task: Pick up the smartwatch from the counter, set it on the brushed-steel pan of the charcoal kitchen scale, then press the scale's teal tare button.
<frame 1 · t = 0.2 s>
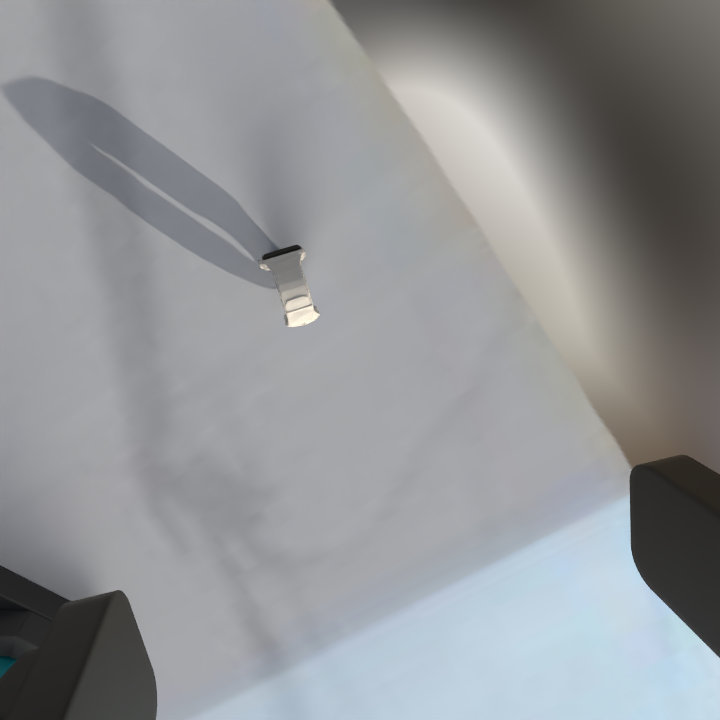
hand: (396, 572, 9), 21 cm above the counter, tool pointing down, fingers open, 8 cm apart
smartwatch: (288, 278, 28), on the counter
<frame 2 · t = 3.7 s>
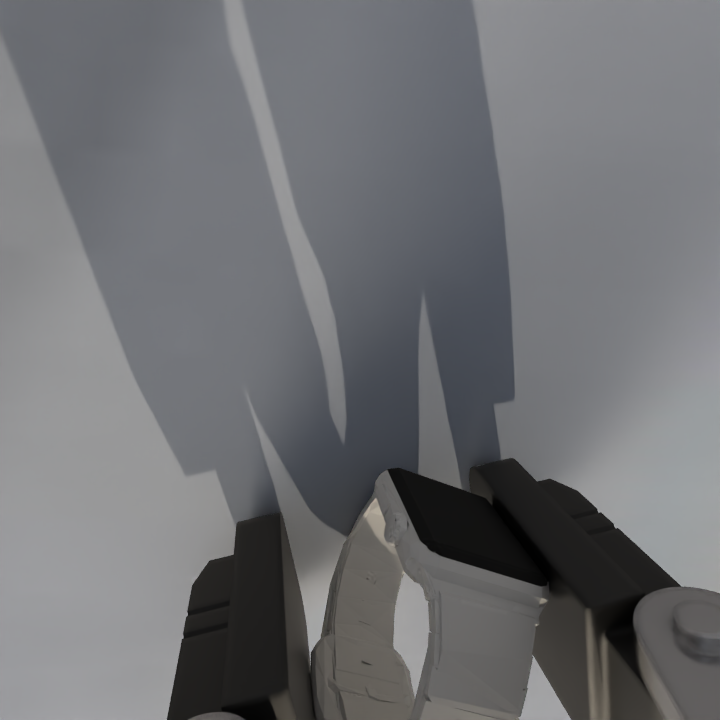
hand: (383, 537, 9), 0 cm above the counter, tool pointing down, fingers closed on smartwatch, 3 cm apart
smartwatch: (379, 525, 10), on the counter, touching gripper
when the fingers open (4 cm above the counter, at t = 10.9 s): smartwatch stays where it is, resting on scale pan.
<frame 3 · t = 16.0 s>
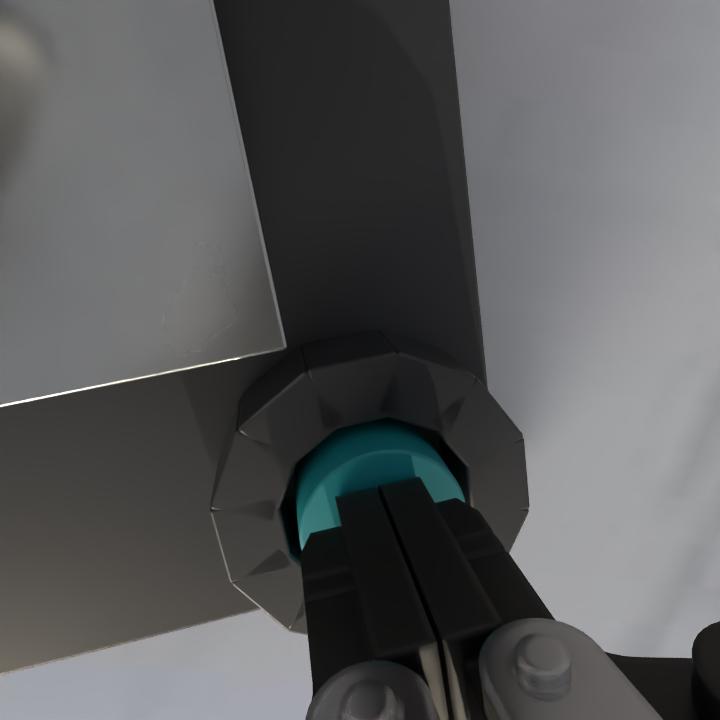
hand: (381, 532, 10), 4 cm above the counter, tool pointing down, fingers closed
tare button: (376, 503, 10), point 3 cm above the counter, slide at -0.6 cm, touching gripper
scale: (150, 257, 12), on the counter
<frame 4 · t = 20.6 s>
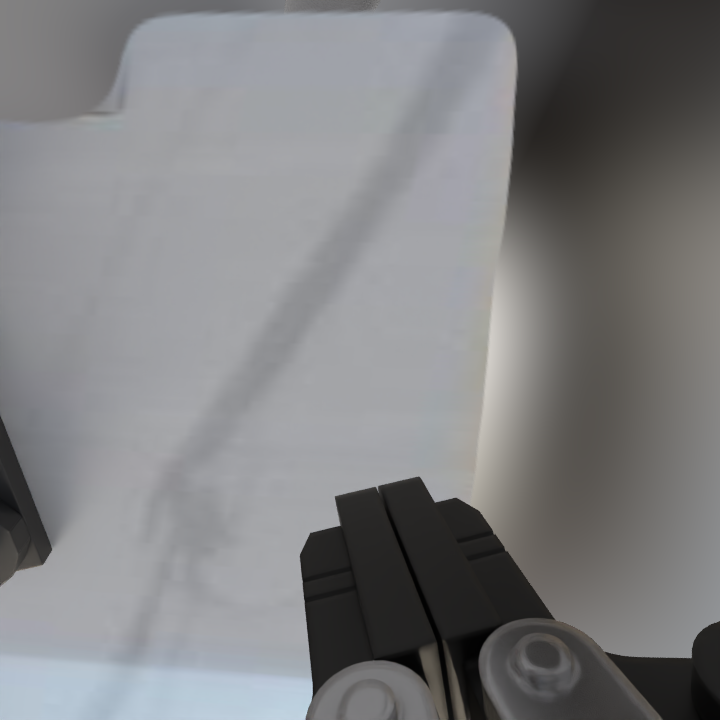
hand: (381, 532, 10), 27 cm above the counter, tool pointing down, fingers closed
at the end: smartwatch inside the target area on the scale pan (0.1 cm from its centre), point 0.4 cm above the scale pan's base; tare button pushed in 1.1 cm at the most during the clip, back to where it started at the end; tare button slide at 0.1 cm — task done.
